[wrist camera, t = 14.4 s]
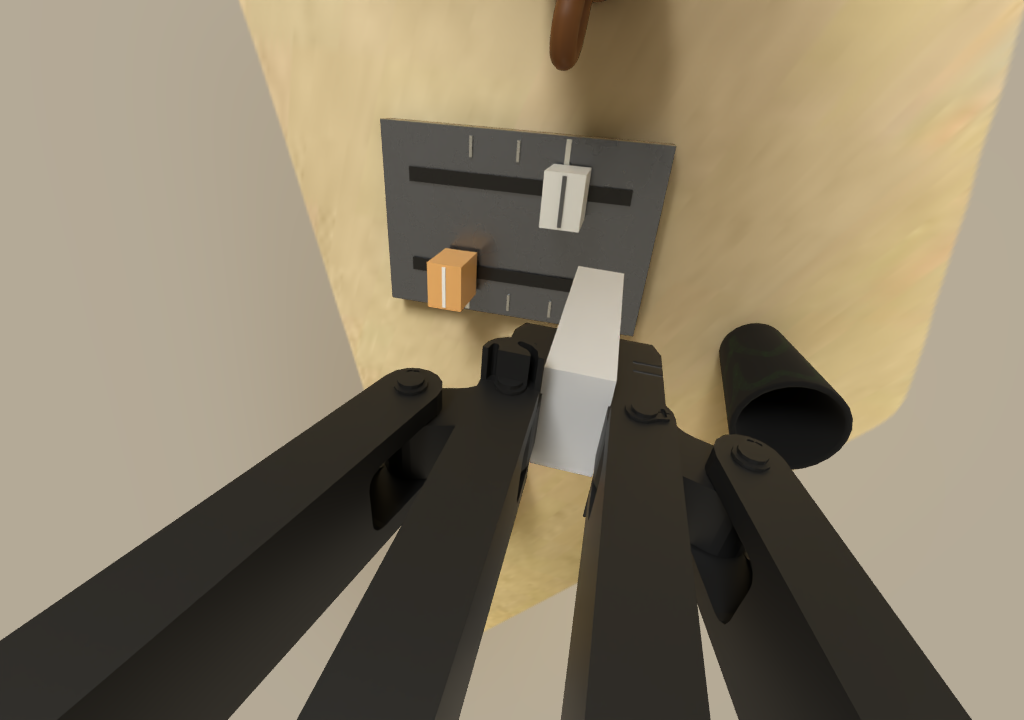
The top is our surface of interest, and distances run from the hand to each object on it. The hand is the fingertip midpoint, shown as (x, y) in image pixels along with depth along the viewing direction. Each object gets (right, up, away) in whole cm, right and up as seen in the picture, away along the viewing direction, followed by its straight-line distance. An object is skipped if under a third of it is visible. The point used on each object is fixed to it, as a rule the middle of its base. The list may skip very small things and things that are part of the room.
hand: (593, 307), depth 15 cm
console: (-2, +10, +26) cm, 28 cm away
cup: (+20, -1, +27) cm, 33 cm away
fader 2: (+2, +12, +21) cm, 24 cm away
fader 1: (-8, +6, +27) cm, 29 cm away
